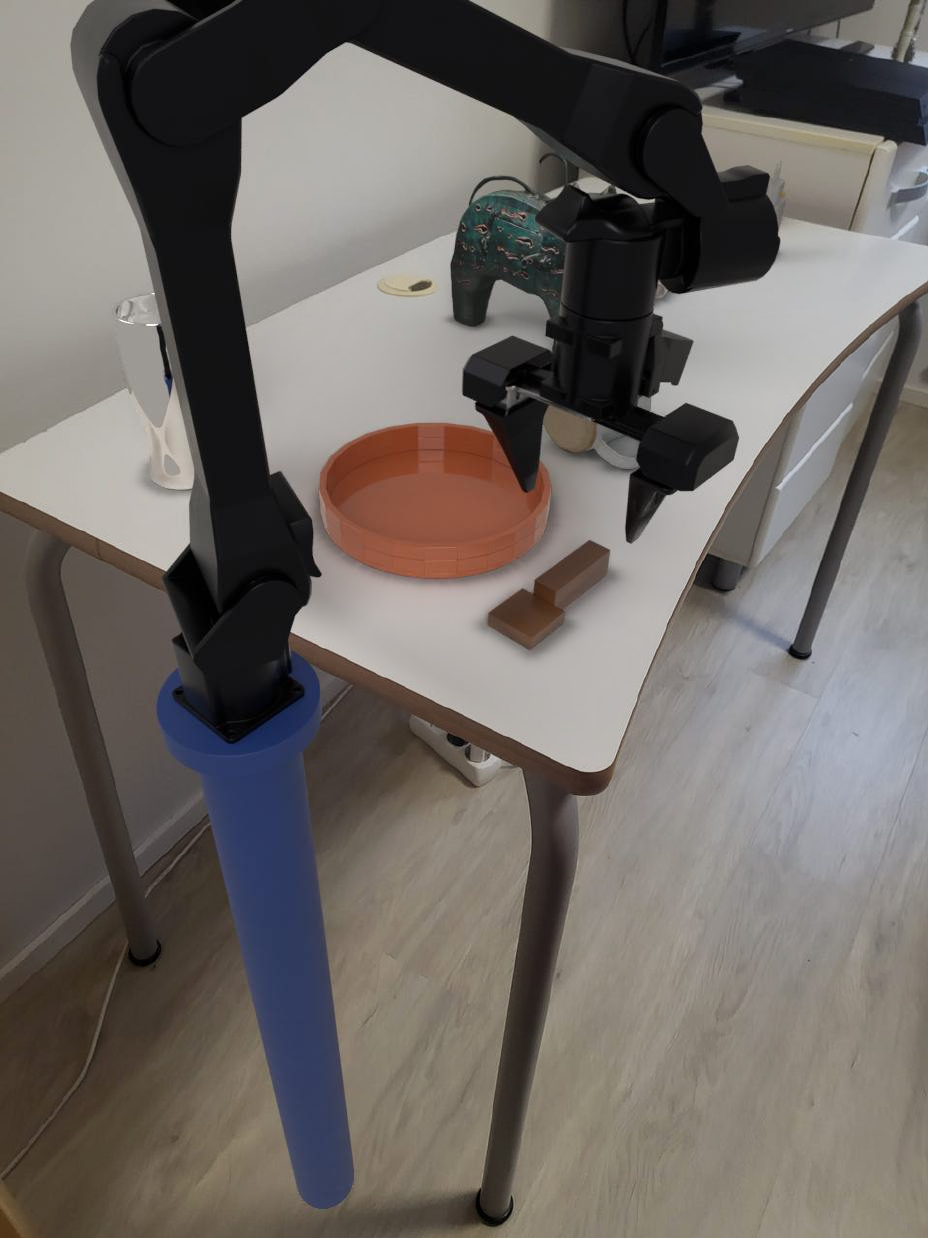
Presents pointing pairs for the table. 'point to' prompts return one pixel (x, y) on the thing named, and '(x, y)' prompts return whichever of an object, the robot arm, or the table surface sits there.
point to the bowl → (430, 501)
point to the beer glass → (153, 389)
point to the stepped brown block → (550, 596)
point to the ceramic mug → (587, 435)
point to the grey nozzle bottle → (777, 193)
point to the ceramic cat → (507, 250)
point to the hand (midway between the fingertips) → (578, 514)
